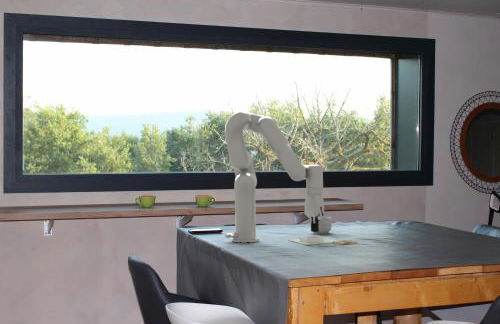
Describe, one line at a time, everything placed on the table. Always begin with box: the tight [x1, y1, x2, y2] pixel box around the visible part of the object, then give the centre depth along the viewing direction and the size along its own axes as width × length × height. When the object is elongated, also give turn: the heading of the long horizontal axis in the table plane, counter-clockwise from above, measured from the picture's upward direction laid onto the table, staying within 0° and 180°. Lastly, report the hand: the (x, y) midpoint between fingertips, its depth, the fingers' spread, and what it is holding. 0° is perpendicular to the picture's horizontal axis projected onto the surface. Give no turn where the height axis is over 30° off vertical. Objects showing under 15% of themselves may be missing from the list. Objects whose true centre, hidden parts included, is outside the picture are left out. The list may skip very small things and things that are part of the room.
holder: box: [332, 239, 358, 246], centre depth 302 cm, size 10×5×1 cm, turn 117°
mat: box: [287, 237, 337, 246], centre depth 309 cm, size 18×16×1 cm
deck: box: [298, 234, 325, 243], centre depth 306 cm, size 9×2×6 cm
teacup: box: [309, 216, 333, 235], centre depth 337 cm, size 14×11×8 cm
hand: (314, 231), depth 308 cm, fingers closed
